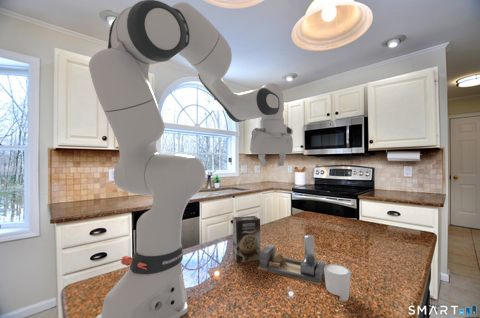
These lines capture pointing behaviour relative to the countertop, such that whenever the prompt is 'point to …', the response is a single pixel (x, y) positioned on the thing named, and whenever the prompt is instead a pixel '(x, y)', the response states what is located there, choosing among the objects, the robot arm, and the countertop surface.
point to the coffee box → (246, 238)
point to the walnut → (278, 258)
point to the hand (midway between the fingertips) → (272, 166)
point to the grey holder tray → (288, 266)
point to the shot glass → (337, 280)
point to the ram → (309, 257)
